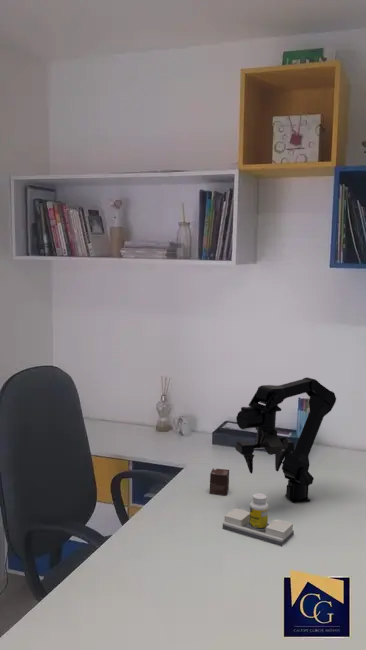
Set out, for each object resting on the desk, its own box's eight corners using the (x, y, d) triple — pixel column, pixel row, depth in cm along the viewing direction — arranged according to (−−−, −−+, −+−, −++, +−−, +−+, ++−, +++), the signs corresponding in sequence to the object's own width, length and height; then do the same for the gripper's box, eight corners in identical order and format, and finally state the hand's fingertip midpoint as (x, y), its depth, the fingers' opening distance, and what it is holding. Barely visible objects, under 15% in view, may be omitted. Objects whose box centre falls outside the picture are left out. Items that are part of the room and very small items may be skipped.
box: (226, 496, 208) (227, 475, 207) (209, 494, 209) (209, 473, 208) (228, 489, 214) (229, 469, 213) (211, 487, 215) (212, 467, 214)
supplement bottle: (245, 526, 182) (246, 494, 181) (259, 522, 185) (260, 491, 184) (257, 533, 177) (258, 500, 176) (271, 529, 180) (272, 497, 179)
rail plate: (222, 528, 182) (223, 516, 182) (236, 518, 190) (236, 507, 190) (281, 546, 172) (282, 533, 172) (293, 534, 180) (294, 522, 180)
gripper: (250, 433, 186) (247, 483, 187) (304, 430, 191) (301, 478, 193) (235, 424, 196) (233, 471, 198) (287, 421, 202) (285, 466, 204)
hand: (264, 472), depth 198 cm, fingers open, 9 cm apart
